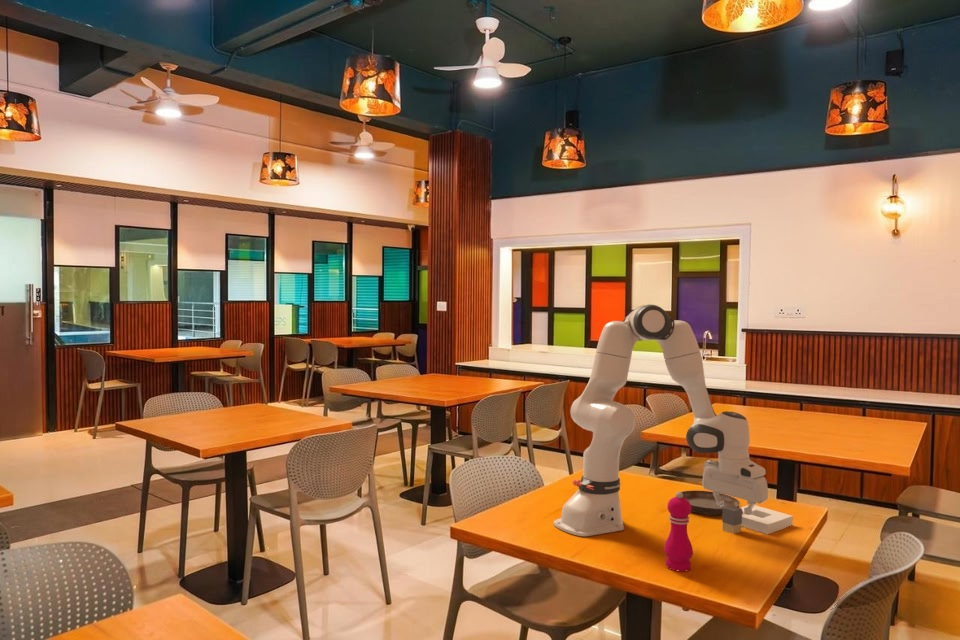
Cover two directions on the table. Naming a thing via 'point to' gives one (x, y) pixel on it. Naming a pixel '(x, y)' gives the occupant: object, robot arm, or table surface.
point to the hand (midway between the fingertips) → (733, 510)
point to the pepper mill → (678, 534)
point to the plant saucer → (708, 502)
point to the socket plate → (765, 520)
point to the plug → (732, 519)
